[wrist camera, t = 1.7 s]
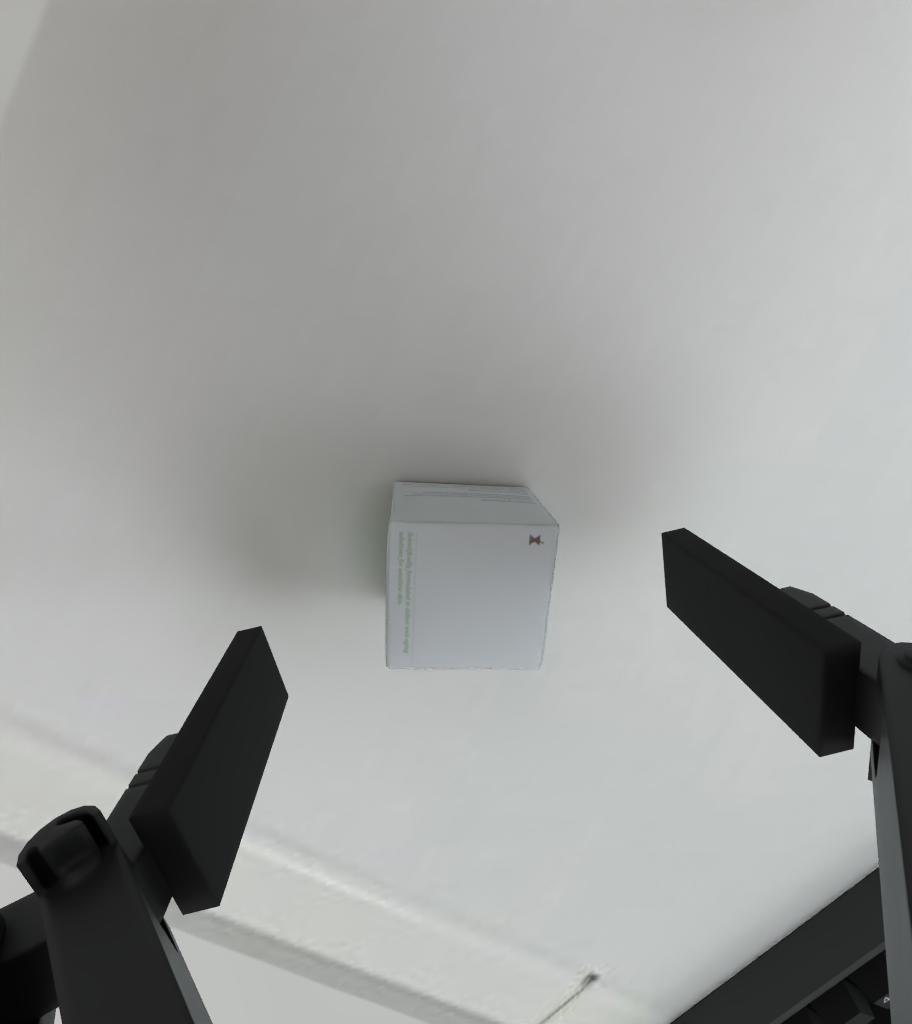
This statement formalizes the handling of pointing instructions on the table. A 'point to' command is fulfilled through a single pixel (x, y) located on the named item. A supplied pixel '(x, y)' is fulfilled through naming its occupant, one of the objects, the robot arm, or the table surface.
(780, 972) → the computer keyboard
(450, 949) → the table surface
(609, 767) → the table surface
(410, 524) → the small box
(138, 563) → the table surface
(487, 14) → the table surface
